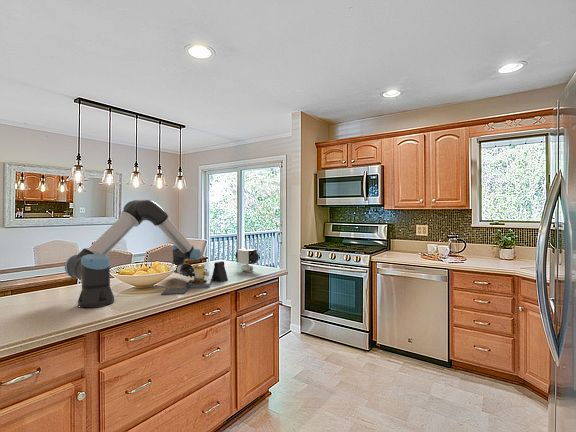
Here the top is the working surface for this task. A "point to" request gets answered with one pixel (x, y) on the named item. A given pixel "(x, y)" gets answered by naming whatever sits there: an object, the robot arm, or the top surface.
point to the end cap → (199, 269)
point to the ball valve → (247, 258)
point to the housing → (199, 284)
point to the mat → (175, 291)
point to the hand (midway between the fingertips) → (203, 274)
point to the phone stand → (219, 272)
